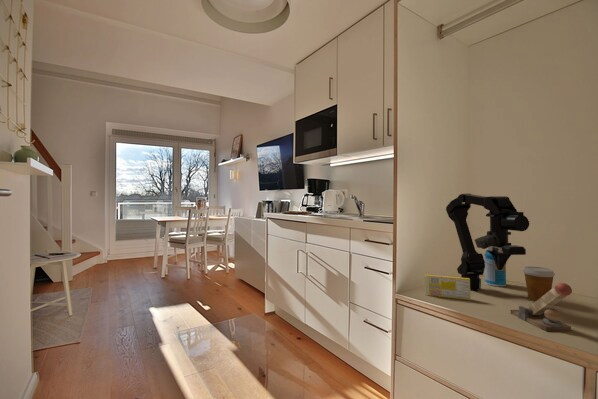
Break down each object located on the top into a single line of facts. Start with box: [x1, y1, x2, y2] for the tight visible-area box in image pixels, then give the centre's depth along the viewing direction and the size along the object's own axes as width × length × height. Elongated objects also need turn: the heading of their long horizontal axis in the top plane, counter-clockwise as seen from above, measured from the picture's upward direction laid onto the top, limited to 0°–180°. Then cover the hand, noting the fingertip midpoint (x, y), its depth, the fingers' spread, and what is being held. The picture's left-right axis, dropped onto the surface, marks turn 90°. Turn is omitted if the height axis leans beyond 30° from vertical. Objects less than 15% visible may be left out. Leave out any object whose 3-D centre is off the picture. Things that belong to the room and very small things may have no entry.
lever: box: [527, 282, 573, 315], centre depth 87 cm, size 4×4×17 cm
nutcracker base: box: [510, 305, 572, 332], centre depth 91 cm, size 14×8×6 cm, turn 1°
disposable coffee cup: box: [522, 265, 556, 302], centre depth 111 cm, size 10×10×12 cm
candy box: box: [424, 274, 472, 301], centre depth 115 cm, size 16×2×8 cm, turn 65°
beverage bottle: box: [483, 247, 507, 287], centre depth 132 cm, size 8×8×20 cm
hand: (499, 269), depth 110 cm, fingers closed
